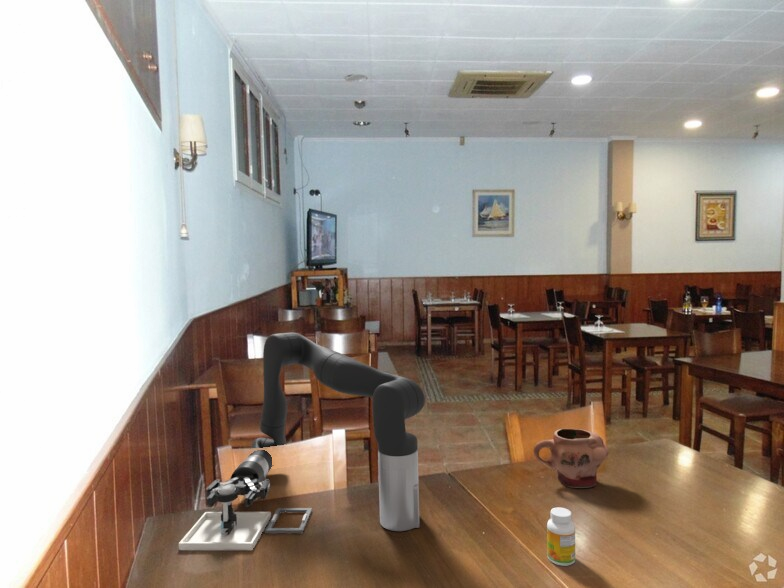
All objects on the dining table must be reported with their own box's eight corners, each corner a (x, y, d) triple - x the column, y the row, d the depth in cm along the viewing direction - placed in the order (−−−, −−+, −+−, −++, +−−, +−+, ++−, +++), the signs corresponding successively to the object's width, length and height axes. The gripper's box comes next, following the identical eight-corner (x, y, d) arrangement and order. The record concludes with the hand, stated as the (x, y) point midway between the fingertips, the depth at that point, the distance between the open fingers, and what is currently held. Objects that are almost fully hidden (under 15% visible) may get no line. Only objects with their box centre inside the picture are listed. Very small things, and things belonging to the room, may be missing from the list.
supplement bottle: (543, 552, 104) (542, 506, 104) (568, 550, 105) (568, 504, 104) (553, 567, 99) (553, 519, 99) (580, 565, 100) (579, 517, 99)
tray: (271, 517, 122) (270, 511, 122) (252, 550, 108) (252, 543, 108) (205, 518, 122) (205, 511, 122) (178, 550, 108) (178, 543, 108)
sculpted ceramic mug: (544, 495, 130) (543, 442, 130) (527, 475, 143) (526, 427, 142) (618, 490, 132) (618, 438, 131) (595, 471, 144) (595, 423, 144)
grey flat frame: (312, 511, 125) (311, 506, 125) (302, 533, 114) (302, 528, 114) (277, 511, 125) (277, 506, 125) (265, 533, 114) (264, 528, 114)
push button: (234, 538, 112) (233, 494, 112) (210, 539, 112) (208, 495, 111) (243, 523, 119) (241, 481, 118) (220, 524, 119) (218, 482, 118)
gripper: (223, 460, 132) (196, 487, 116) (277, 459, 131) (258, 486, 115) (224, 488, 132) (198, 519, 116) (278, 488, 132) (259, 519, 116)
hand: (228, 503), depth 116 cm, fingers open, 8 cm apart
